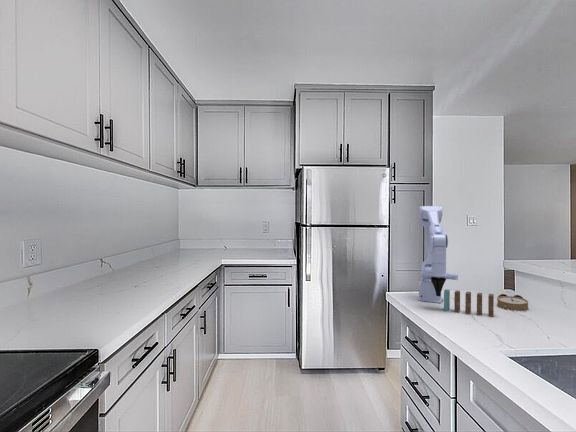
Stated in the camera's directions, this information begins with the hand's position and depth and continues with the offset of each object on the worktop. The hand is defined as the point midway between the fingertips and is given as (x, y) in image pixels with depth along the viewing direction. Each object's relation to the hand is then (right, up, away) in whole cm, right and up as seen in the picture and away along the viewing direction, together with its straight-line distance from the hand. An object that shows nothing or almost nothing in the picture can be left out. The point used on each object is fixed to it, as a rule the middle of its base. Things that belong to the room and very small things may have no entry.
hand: (438, 295), depth 154 cm
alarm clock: (+33, -6, +4) cm, 34 cm away
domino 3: (+13, -6, -8) cm, 16 cm away
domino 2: (+10, -6, -6) cm, 12 cm away
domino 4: (+16, -6, -10) cm, 20 cm away
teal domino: (+3, -6, -2) cm, 6 cm away
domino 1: (+6, -6, -4) cm, 9 cm away
